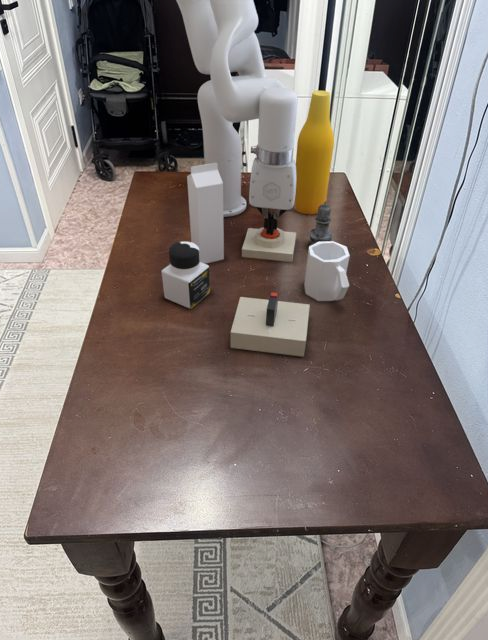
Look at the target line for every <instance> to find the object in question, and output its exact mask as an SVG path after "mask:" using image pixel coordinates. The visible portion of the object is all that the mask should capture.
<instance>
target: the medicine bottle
mask: <svg viewBox="0 0 488 640" xmlns="http://www.w3.org/2000/svg"><path fill="white" fill-rule="evenodd" d="M168 257H169V264H168V265H166V266H165V267H164V268H163V269H161V279H162V280H161V281H162V288H163V296H164V299H166V300H168V301H170V302H173V303H176V304H177V305H180V306H183V307H185V308H187V309H188V310H189V309H190V310H191V309H193V308H194V307H195V306H196V305H198V304H199V303H200V302H201V301H202V300H203V299H204V298H205V297H207V296H208V295H209V294H210V293H211V285H210V265H208V263H206V264H204V263H201V262H200V255H199V247H198V246H197V245H196V244H194V243H192V242H191V241H186V240H185V241H178V242H174V243H173V244H171V246H170V247H169V248H168Z"/></svg>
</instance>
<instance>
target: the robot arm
mask: <svg viewBox="0 0 488 640" xmlns="http://www.w3.org/2000/svg"><path fill="white" fill-rule="evenodd" d="M175 1H176V3H177V5H178V8H179V10H180V14H181V16H182V20H183V24H184V28H185V32H186V36H187V40H188V44H189V48H190V51H191V55H192V59H193V62H194V65H195V68H196V69H197V71H198V72H199V73H200V74H203V75H210V80H207V81H206V82H204V83H202V85H201V86H200V87H199V89H198V92H197V105H198V106H197V107H198V111H199V116H200V120H201V121H200V122H201V127H202V128H201V129H202V139H203V141H202V142H203V161H204V164H203V165H205V164H211V163H217V164H218V171H219V174H220V177H221V179H222V182H223V218H227V217H229V218H230V217H234V216H238V215H240V214H241V213H244V212H245V210H246V209H247V200H246V198H244V197H243V196H242V139H241V135H240V134H239V132H238V131H237V130H236V129H235V127H234V126H233V125H234V123H242V122H247V121H252V120H258V127H257V128H258V130H257V132H258V133H257V134H258V135H257V144H256V145H254V146H250V154H254V155H255V157H254V159H253V161H252V166H251V169H250V170H251V172H250V178H249V179H250V180H249V191H248V207H249V208H252V209H255V210H258V212H259V213H260V214H261V215H262V218H264V220H263V221H264V222H263V227H264V229H267V230H266V234H269V233H270V234H273V232H274V230H277V228H278V224H279V223H278V222H279V218H280V217H281V216H282V215H283V214H285V213H289V212H295V211H296V210H295V207H296V206H295V195H296V159H294V149H295V137H296V126H297V113H298V95H297V93H296V92H295V91H294V90H292V89H289V88H286V87H285V86H284V84H283V83H282V82H281V81H280V80H279V79H278V78H276V77H274V76H267V73H266V69H265V64H264V59H263V54H262V51H261V46H260V41H259V39H258V37H257V35H256V32H255V31H256V30H257V28H258V26H259V15H258V13H257V9H256V5H255V2H254V0H175ZM236 72H237V74H238V75H234V76H232V75H231V73H236ZM271 209H272V210H274V211H273V212H271Z"/></svg>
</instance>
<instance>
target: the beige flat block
mask: <svg viewBox="0 0 488 640" xmlns="http://www.w3.org/2000/svg"><path fill="white" fill-rule="evenodd" d="M268 302H269V299H263V298H255V297H245V296H240V297H239V300H238V304H237V308H236V311H235V315H234V318H233V321H232V326H231V329H230V349H238V350H246V351H253V352H261V353H271V354H279V355H287V356H294V357H301V358H302V357H305V353H306V352H305V351H306V344H307V335H308V327H309V325H308V324H309V317H310V306H311V305H310V304H309V303H308V304H307V303H299V302H292V301H280V300H278V306H277V313H276V318H275V322H274V326H268V325H266V313H267V306H268Z"/></svg>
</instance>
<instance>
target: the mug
mask: <svg viewBox="0 0 488 640" xmlns="http://www.w3.org/2000/svg"><path fill="white" fill-rule="evenodd" d="M350 255H351V254H350V252H349V250H348V246H346V245H344V244H341V243H338V242H336V241H334V240H333V241H332V240H331V241H325V242H317V243H315V244H313V245H311V246H310V247H309V246H308V251H307V259H306V268H305V275H304V284H303V286H304V287H303V288H304V293H305V295H306V296H308V297H310V298H312V299H314V300H316V301H317V302H333V301H339V300H340V301H341V300H343V299H344V298H345V297H346V294H347V292H348V289H349V288H350V282H349V279H348V276H347V275H348V274H347V272H348V267H349V261H350Z"/></svg>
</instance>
